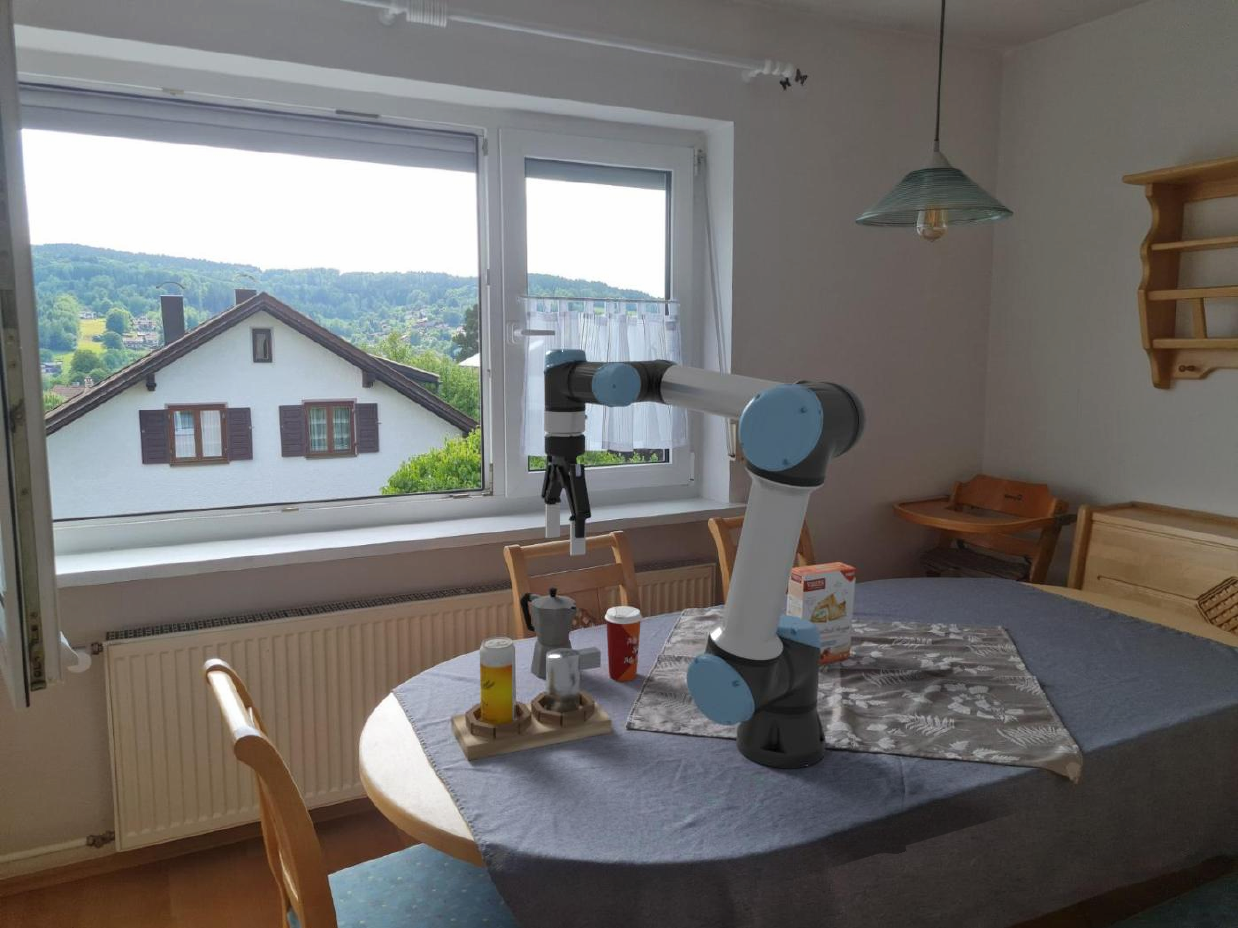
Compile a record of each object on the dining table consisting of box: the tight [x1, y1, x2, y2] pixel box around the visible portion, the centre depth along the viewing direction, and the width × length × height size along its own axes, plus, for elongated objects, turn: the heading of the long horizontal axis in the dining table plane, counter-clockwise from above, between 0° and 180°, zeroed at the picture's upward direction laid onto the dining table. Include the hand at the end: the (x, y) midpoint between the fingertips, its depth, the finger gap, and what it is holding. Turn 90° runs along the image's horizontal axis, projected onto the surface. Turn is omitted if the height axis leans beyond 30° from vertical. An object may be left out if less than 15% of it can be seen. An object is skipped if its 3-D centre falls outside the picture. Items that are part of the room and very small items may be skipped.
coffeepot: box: [519, 587, 580, 679], centre depth 180 cm, size 15×9×18 cm, turn 55°
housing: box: [450, 690, 612, 761], centre depth 154 cm, size 12×26×4 cm, turn 114°
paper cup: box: [604, 605, 643, 682], centre depth 177 cm, size 8×8×14 cm
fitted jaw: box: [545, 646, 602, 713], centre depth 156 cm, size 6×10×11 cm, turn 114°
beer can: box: [479, 636, 517, 725], centre depth 150 cm, size 6×6×15 cm
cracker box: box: [785, 561, 857, 665], centre depth 187 cm, size 14×6×21 cm, turn 115°
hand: (564, 545), depth 162 cm, fingers open, 13 cm apart
